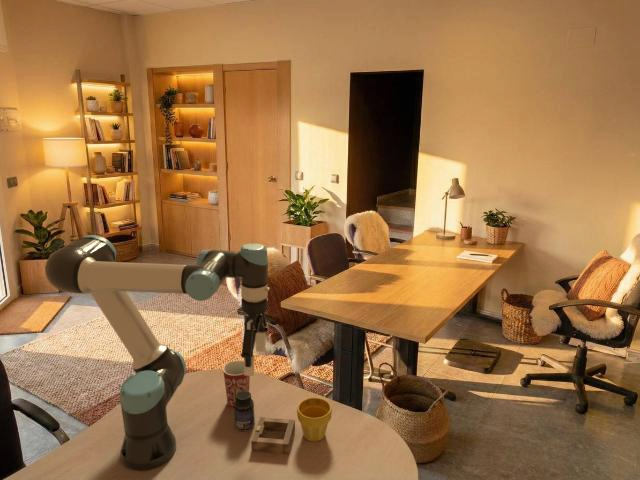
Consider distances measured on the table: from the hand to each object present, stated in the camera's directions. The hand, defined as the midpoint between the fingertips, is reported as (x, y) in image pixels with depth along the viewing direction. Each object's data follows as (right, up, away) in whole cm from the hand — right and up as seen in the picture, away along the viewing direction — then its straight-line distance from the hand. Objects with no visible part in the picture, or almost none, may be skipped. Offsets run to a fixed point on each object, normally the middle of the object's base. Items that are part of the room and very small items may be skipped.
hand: (255, 362), depth 146 cm
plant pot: (+18, -23, +4) cm, 29 cm away
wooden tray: (+6, -24, +1) cm, 24 cm away
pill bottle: (-4, -22, +8) cm, 23 cm away
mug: (-8, -18, +21) cm, 28 cm away
